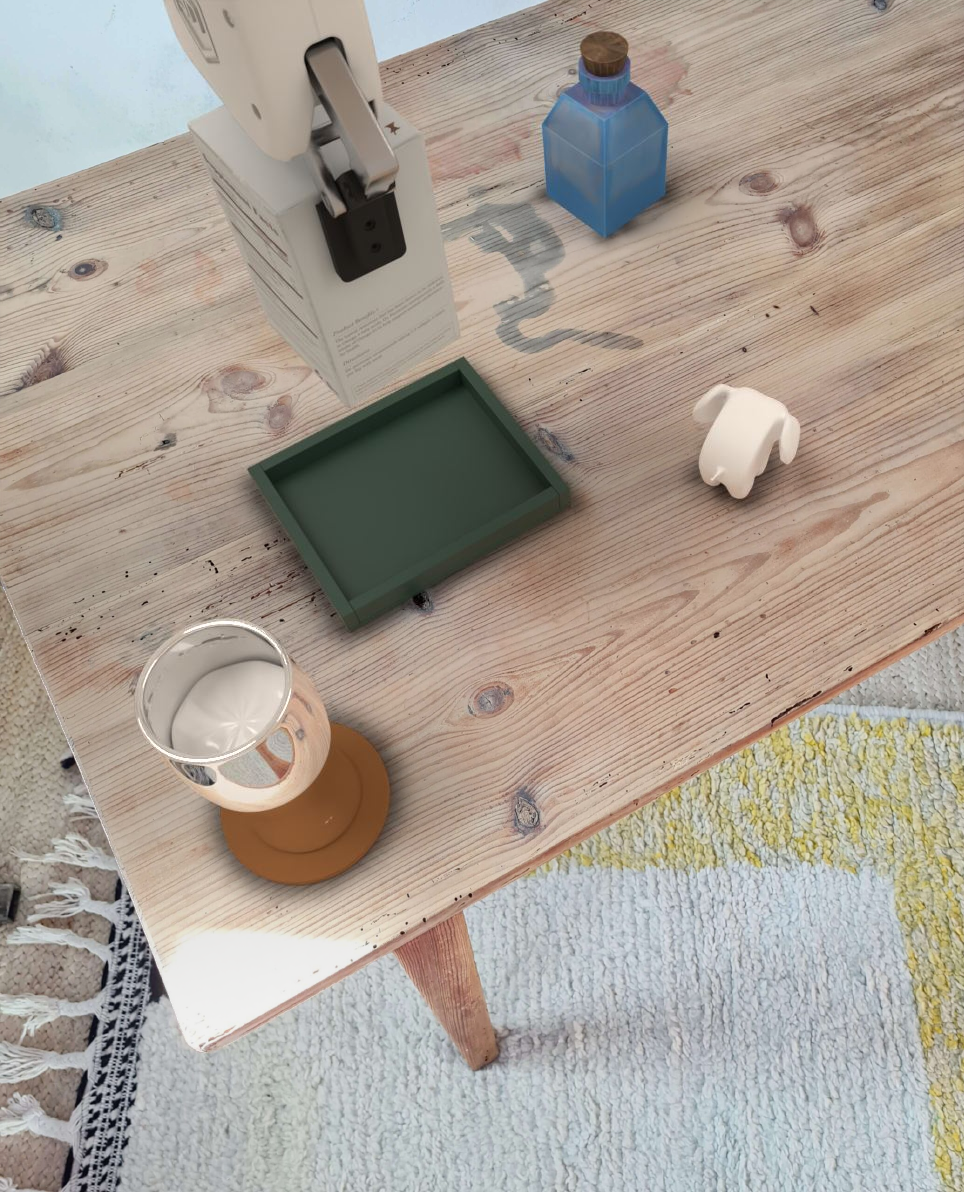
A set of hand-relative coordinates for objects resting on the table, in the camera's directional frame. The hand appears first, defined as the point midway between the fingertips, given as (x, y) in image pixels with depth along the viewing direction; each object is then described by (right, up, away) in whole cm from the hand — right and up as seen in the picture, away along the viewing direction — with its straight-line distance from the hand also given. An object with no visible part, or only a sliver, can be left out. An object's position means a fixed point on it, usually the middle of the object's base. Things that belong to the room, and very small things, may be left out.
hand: (326, 207), depth 48 cm
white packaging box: (0, -4, +8) cm, 9 cm away
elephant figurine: (+21, -10, +20) cm, 31 cm away
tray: (+1, -11, +19) cm, 22 cm away
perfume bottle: (+13, +12, +32) cm, 36 cm away
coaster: (-4, -29, +10) cm, 31 cm away
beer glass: (-4, -28, +10) cm, 30 cm away
